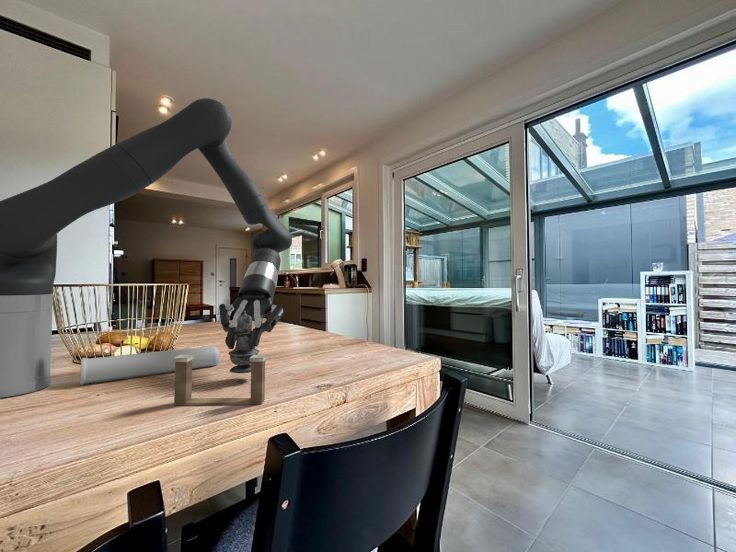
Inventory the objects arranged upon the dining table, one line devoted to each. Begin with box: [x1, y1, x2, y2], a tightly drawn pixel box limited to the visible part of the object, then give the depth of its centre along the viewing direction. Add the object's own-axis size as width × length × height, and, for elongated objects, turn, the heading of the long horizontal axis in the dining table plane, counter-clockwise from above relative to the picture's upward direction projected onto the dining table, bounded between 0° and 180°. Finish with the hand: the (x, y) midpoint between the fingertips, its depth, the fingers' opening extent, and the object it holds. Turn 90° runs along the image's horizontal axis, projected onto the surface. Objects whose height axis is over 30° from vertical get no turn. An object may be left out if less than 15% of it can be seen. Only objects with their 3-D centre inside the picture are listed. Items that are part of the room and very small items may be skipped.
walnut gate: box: [173, 354, 268, 406], centre depth 52 cm, size 14×2×8 cm, turn 93°
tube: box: [79, 345, 221, 386], centre depth 69 cm, size 5×5×25 cm
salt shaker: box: [227, 310, 260, 374], centre depth 64 cm, size 6×6×12 cm
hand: (240, 346), depth 62 cm, fingers closed on salt shaker, 3 cm apart
